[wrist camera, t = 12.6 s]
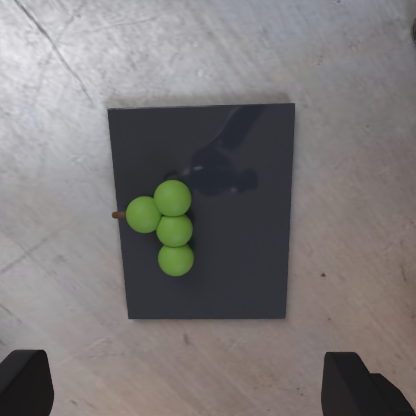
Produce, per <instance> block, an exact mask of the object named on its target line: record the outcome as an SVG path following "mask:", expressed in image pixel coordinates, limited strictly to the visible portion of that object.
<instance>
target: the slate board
mask: <svg viewBox="0 0 416 416" xmlns="http://www.w3.org/2000/svg"><path fill="white" fill-rule="evenodd" d="M107 110H108V120H109V130H110V140H111V150H112V160H113V170H114V180H115V190H116V200H117V210H118V212H126V210H127V208H128V206H129V204H130V203H131V202H132V201H133V200H134V199H136V198H138V197H142V196H148V197H152V198H154V194H155V191H156V189H157V188H158V186H159V185H160V184H162V183H163V182H165V181H168V180H177V181H180V182H182V183H184V184H185V185H186V186H187V187H188V189H189V191H190V193H191V204H190V207H189V209H188V210H187V211H186V212H185V213H184V214H185V215H186V216H188V218H189V219H190V221H191V223H192V227H193V231H192V235H191V238H190V239H189V241H188V242H187V243H186V244H188V245H189V246H190V248H191V249H192V251H193V255H194V261H193V265H192V267H191V268H190V270H189V271H188V272H187V273H185V274H183V275H181V276H171V275H168V274H166V273H165V272H164V271H163V270H162V269H161V267H160V265H159V262H158V255H159V252H160V250H161V248H162V247H163V246H164V244H163V243H162V242H161V241H160V240H159V238H158V236H157V233H156V230H154V231H152V232H149V233H141V232H137V231H135V230H134V229H132V228H131V227H130V225H129V224H128V222H127V219H126V218H118V219H119V229H120V239H121V249H122V259H123V269H124V279H125V289H126V299H127V309H128V319H285V318H286V297H287V275H288V252H289V230H290V208H291V185H292V163H293V141H294V119H295V103H283V104H247V105H212V106H176V107H140V108H108V109H107Z"/></svg>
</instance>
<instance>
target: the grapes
mask: <svg viewBox="0 0 416 416" xmlns="http://www.w3.org/2000/svg"><path fill="white" fill-rule="evenodd" d="M190 204H191V193H190V191H189V189H188V187H187V186H186V185H185V184H184V183H182V182H180V181H177V180H168V181H165V182H163V183H162V184H160V185H159V186H158V188H157V189H156V191H155V194H154V198H152V197H148V196H142V197H138V198H136V199H134V200H133V201H132V202H131V203H130V204H129V206H128V208H127V210H126V212H113V213H112V217H113V218H126V219H127V222H128V224H129V225H130V227H131V228H132V229H134V230H135V231H137V232H141V233H149V232H152V231H154V230H156V233H157V236H158V238H159V240H160V241H161V242H162V243H163V244H164V246H163V247H162V248H161V250H160V252H159V255H158V262H159V265H160V267H161V269H162V270H163V271H164V272H165V273H166V274H168V275H171V276H181V275H183V274H185V273H187V272H188V271H189V270H190V268H191V267H192V265H193V261H194V255H193V251H192V249H191V248H190V246H189V245H188V244H186V243H187V242H188V241H189V239H190V238H191V235H192V231H193V227H192V223H191V221H190V219H189V218H188V216H186V215H185V214H184V213H185V212H186V211H187V210H188V209H189V207H190Z"/></svg>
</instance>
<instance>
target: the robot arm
mask: <svg viewBox="0 0 416 416" xmlns="http://www.w3.org/2000/svg"><path fill="white" fill-rule="evenodd" d="M53 401H54V390H53V384H52V379H51V374H50V368H49V363H48V358H47V354H46V352H45V351H44V350H14V351H13V352H11V353H10V354H9V355H8V356H7V357H6V358H5V359H4V360H3V361H2V362H1V364H0V416H49V414H50V412H51V409H52V406H53ZM321 404H322V411H323V416H416V415H415V412H414V410H413V408H412V407H411V405H410V404H409V402H408V401H407V400H406V398H405V397H404V395H403V394H402V393H401V391H400V390H399V389H398V388H397V387H395V386H394V385H393V384H392V383H391V382H390V381H388V380H387V379H386V378H385V377H384V376H382V375H381V374H380V373H369V371H368V369H367V368H366V366H365V365H364V363H363V361H362V360H361V358H360V357H359V355H358V354H357V353H355V352H327V353H326V354H325V358H324V369H323V380H322V391H321Z"/></svg>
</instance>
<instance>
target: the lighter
mask: <svg viewBox="0 0 416 416" xmlns="http://www.w3.org/2000/svg"><path fill="white" fill-rule="evenodd" d="M411 34H412V37H413V40H414V41H415V42H416V18H415V19H414V21H413V25H412V33H411Z"/></svg>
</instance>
